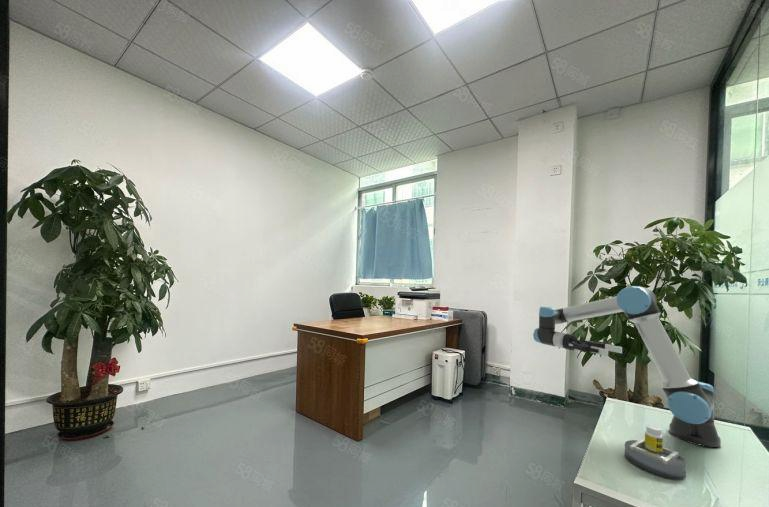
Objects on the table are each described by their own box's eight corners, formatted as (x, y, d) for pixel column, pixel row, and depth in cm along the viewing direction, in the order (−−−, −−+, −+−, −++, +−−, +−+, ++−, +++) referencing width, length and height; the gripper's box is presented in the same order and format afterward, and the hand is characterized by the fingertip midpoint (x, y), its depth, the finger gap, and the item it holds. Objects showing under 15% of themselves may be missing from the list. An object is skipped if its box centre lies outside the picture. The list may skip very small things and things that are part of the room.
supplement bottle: (658, 457, 104) (658, 432, 105) (641, 450, 109) (642, 425, 109) (665, 454, 107) (665, 429, 107) (648, 447, 111) (648, 423, 111)
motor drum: (635, 447, 118) (635, 433, 119) (692, 471, 105) (692, 455, 105) (616, 458, 110) (616, 443, 110) (676, 486, 96) (676, 468, 97)
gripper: (578, 346, 161) (627, 357, 143) (551, 350, 148) (601, 363, 130) (578, 332, 161) (627, 341, 143) (551, 334, 148) (601, 345, 130)
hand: (615, 351), depth 137 cm, fingers open, 13 cm apart
